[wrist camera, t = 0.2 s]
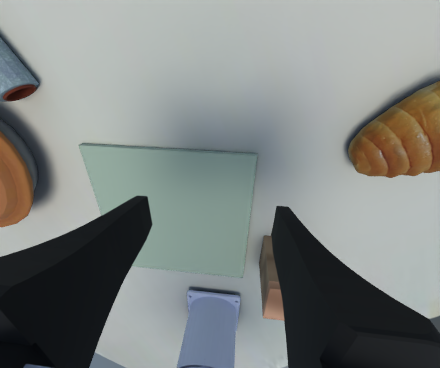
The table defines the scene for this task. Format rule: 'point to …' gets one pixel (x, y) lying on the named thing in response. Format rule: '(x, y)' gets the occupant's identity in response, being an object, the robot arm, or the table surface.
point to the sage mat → (180, 203)
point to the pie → (15, 176)
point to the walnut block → (270, 283)
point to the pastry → (401, 138)
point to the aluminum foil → (14, 76)
